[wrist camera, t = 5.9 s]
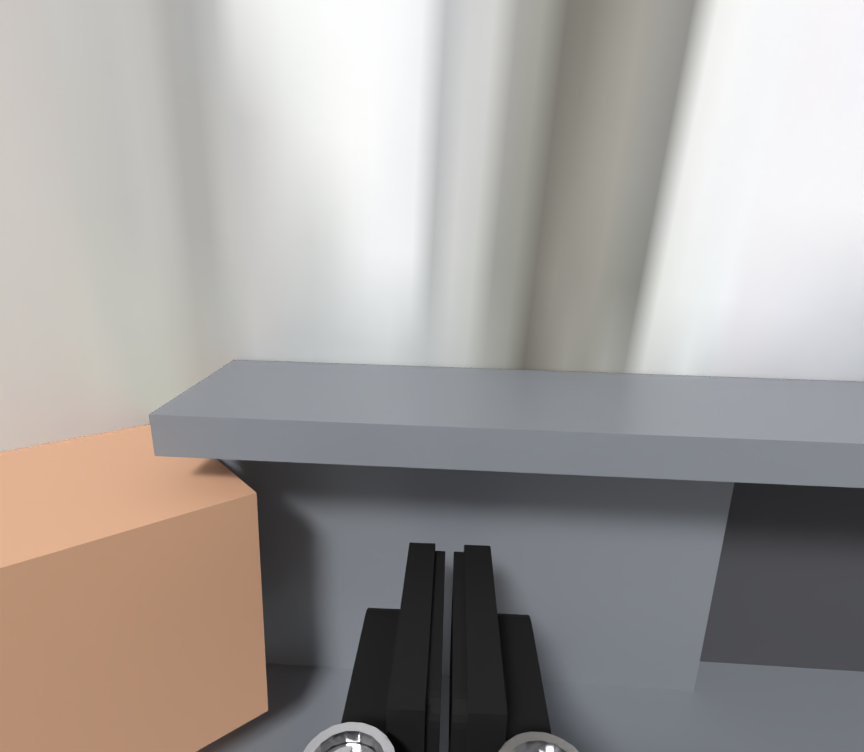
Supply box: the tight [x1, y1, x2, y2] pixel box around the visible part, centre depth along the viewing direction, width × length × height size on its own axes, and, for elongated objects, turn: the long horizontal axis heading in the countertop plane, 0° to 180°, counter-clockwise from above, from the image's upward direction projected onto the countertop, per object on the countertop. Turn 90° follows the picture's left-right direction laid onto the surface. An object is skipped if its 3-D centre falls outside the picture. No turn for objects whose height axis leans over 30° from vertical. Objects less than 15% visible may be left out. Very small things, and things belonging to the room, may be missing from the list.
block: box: [0, 424, 268, 752], centre depth 11 cm, size 5×5×6 cm
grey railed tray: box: [149, 360, 864, 752], centre depth 12 cm, size 20×9×4 cm, turn 89°
